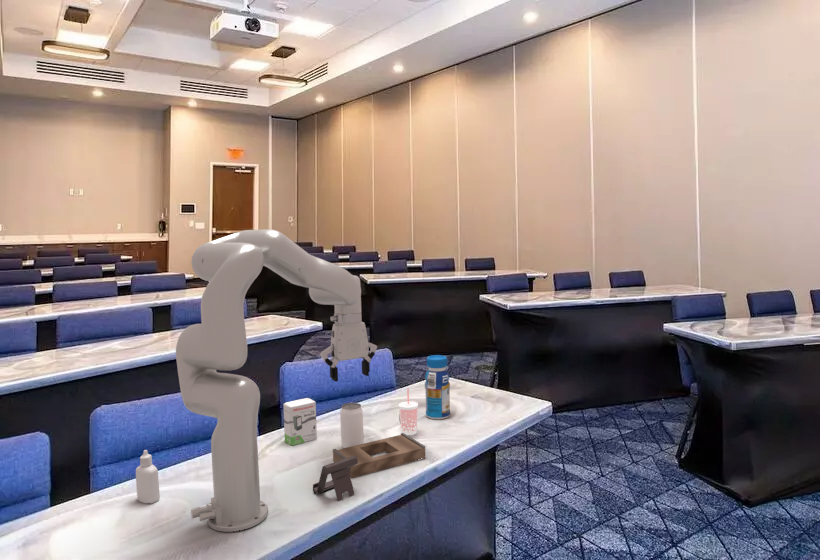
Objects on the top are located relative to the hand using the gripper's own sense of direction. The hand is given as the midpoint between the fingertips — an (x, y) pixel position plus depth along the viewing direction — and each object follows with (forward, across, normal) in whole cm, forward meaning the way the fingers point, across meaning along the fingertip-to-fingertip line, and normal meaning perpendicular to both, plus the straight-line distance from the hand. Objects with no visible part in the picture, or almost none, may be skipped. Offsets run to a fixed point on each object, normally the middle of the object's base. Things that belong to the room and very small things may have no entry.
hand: (350, 377), depth 157 cm
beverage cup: (+20, +19, 0) cm, 28 cm away
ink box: (+20, -11, +13) cm, 27 cm away
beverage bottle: (+21, +35, +8) cm, 41 cm away
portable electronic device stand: (+20, -15, -24) cm, 35 cm away
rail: (+20, +2, -13) cm, 24 cm away
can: (+20, 0, 0) cm, 20 cm away
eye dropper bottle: (+20, -54, -3) cm, 58 cm away
